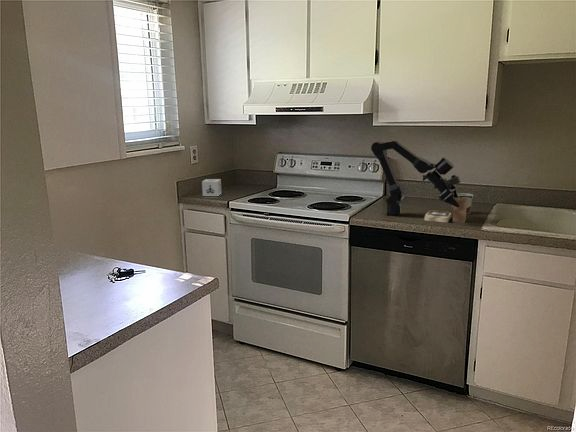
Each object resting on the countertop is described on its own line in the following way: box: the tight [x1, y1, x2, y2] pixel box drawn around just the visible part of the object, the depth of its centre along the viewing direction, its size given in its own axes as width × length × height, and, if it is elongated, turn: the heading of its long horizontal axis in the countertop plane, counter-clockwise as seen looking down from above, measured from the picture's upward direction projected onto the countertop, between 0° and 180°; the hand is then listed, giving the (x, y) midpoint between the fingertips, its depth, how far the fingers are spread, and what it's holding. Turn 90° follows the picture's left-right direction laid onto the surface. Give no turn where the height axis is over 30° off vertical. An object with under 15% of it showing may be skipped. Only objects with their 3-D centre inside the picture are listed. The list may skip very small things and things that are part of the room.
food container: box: [450, 192, 475, 215], centre depth 247 cm, size 12×6×10 cm, turn 92°
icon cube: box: [201, 178, 222, 197], centre depth 304 cm, size 10×10×10 cm
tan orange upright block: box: [452, 197, 467, 224], centre depth 230 cm, size 6×6×11 cm
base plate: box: [424, 209, 452, 223], centre depth 235 cm, size 11×11×3 cm
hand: (460, 205), depth 229 cm, fingers open, 9 cm apart
